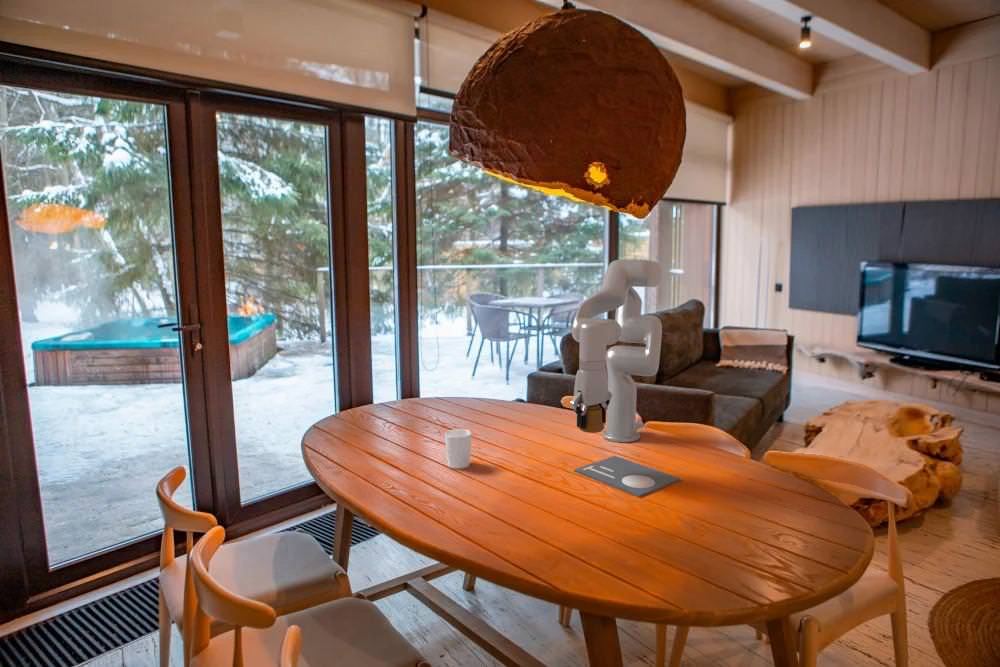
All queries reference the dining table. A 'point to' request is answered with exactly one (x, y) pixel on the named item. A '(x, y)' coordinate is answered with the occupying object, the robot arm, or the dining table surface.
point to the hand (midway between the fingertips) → (591, 424)
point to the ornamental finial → (593, 419)
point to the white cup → (458, 448)
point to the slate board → (627, 475)
